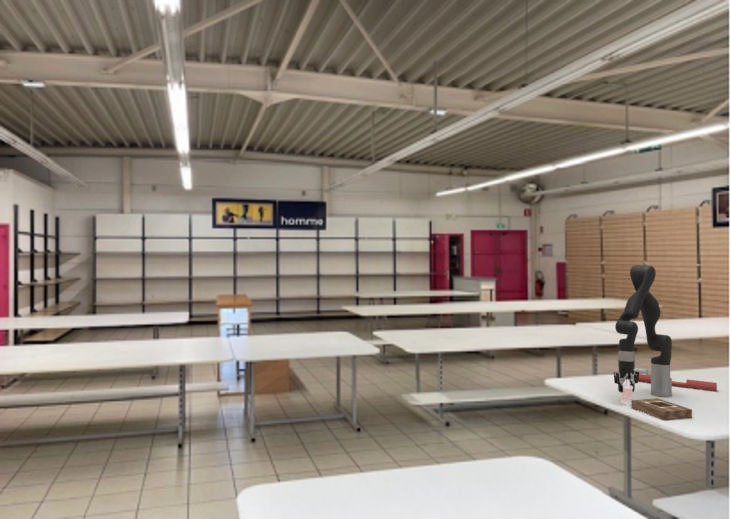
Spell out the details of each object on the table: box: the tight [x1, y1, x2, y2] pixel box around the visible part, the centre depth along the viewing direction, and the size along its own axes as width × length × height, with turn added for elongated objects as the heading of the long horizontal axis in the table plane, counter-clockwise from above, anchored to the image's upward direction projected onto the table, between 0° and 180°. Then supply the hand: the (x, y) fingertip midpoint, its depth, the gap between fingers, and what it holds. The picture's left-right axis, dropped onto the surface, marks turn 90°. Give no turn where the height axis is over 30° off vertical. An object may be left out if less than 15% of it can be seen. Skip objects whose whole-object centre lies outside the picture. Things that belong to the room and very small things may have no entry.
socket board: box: [630, 397, 693, 421], centre depth 246 cm, size 16×20×4 cm
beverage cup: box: [620, 379, 633, 405], centre depth 263 cm, size 6×6×14 cm
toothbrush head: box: [634, 367, 651, 375], centre depth 328 cm, size 5×7×25 cm
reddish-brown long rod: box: [638, 373, 718, 392], centre depth 301 cm, size 42×5×5 cm, turn 54°
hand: (626, 391), depth 263 cm, fingers closed on beverage cup, 6 cm apart
